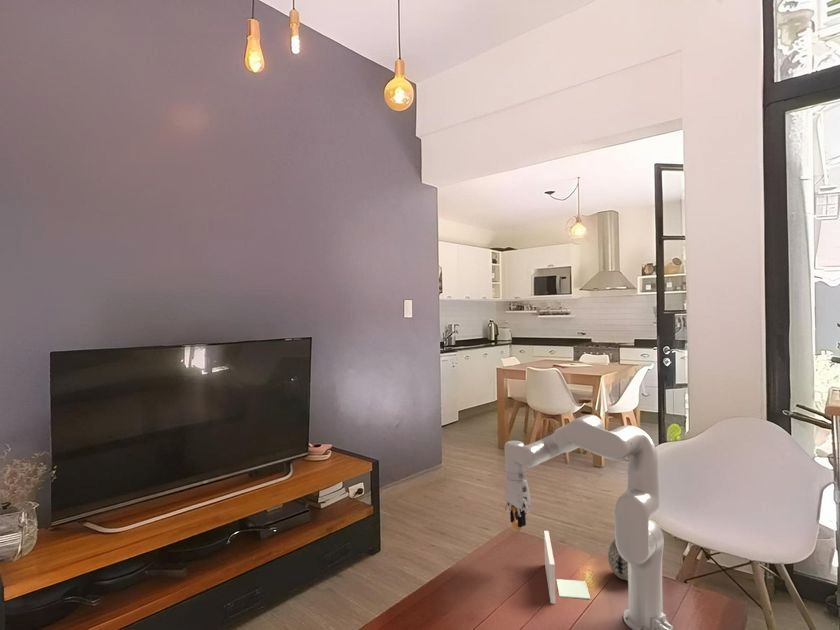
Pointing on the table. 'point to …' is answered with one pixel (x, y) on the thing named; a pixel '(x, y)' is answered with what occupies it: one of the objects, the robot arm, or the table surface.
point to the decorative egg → (617, 562)
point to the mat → (573, 589)
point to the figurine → (515, 522)
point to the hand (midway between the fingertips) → (518, 523)
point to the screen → (549, 567)
